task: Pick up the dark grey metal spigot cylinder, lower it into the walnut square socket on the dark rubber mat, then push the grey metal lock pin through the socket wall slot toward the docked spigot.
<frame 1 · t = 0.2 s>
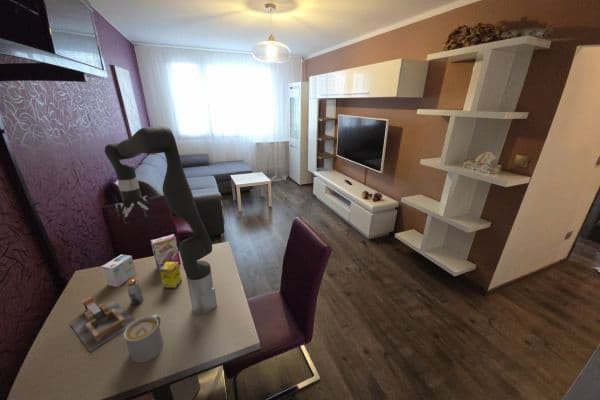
hand: (137, 220, 118), 29 cm above the table, fingers open, 8 cm apart
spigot: (137, 301, 107), on the table
coffee mug: (151, 345, 88), on the table
candy bar box: (169, 265, 132), on the table
supplement box: (173, 284, 118), on the table
dock: (107, 328, 95), on the table
pin: (92, 307, 100), point 3 cm above the table, slide at 0.0 cm
light bulb box: (122, 279, 121), on the table
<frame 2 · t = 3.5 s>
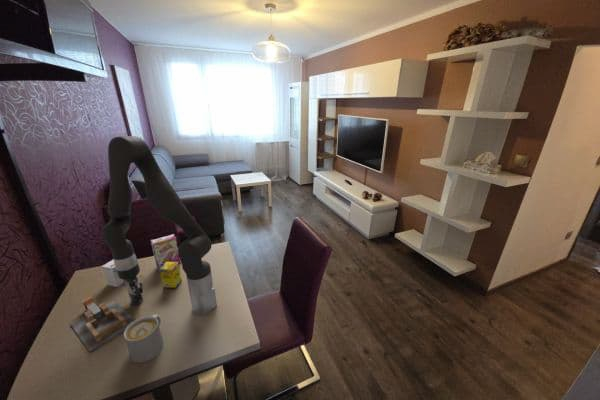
hand: (136, 297, 107), 2 cm above the table, fingers closed on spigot, 4 cm apart
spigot: (137, 301, 107), on the table, touching gripper
everything else where it was.
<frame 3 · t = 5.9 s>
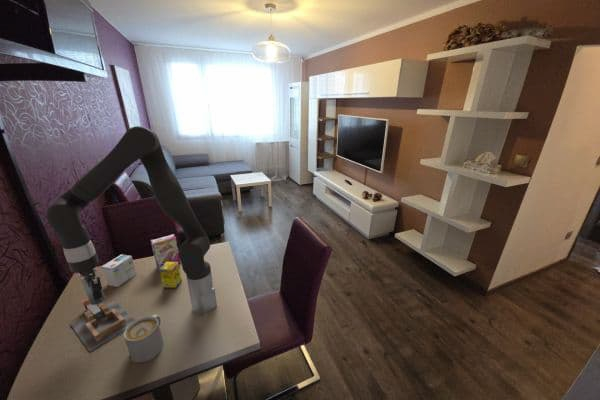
hand: (95, 295, 89), 16 cm above the table, fingers closed on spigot, 4 cm apart
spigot: (97, 300, 90), point 13 cm above the table, touching gripper
everything else where it was.
when the fingers open (4 cm above the table, at t = 8.3 s): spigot drops 1 cm, resting on dock.
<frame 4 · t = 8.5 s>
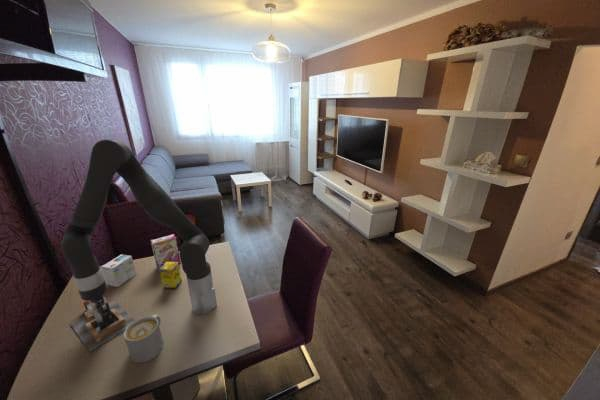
hand: (104, 318, 93), 5 cm above the table, fingers open, 6 cm apart
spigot: (107, 327, 95), resting on dock
everything else where it was.
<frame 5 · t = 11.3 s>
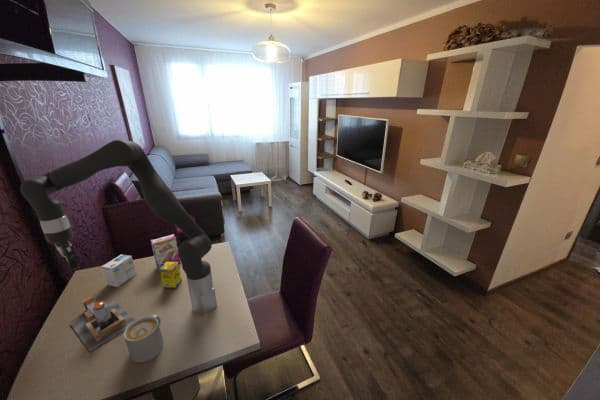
hand: (71, 264, 99), 20 cm above the table, fingers open, 7 cm apart
nothing on the table moved.
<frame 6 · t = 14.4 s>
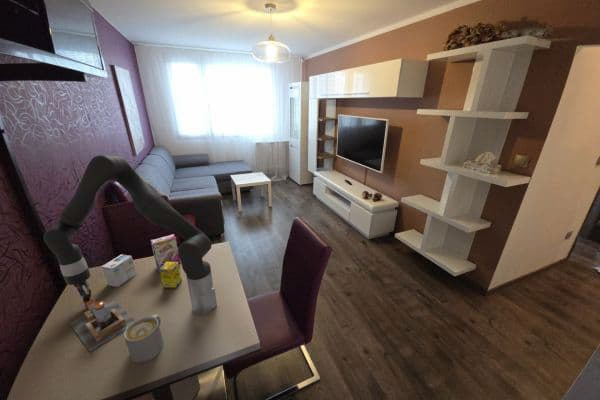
hand: (88, 303, 104), 1 cm above the table, fingers closed
pin: (94, 309, 99), point 3 cm above the table, slide at 1.2 cm, touching gripper
everything else where it was.
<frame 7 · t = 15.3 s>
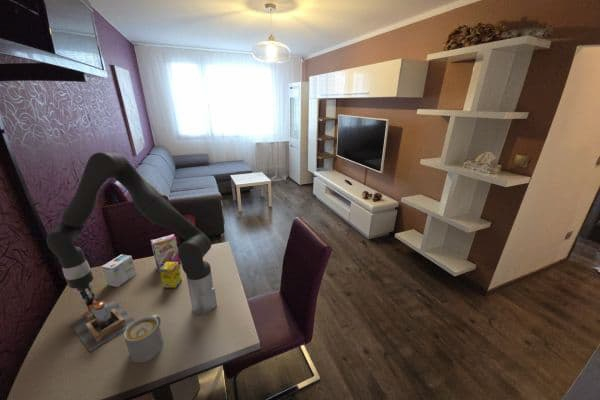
hand: (91, 307, 102), 1 cm above the table, fingers closed
pin: (97, 313, 98), point 3 cm above the table, slide at 4.7 cm, touching gripper
everything else where it was.
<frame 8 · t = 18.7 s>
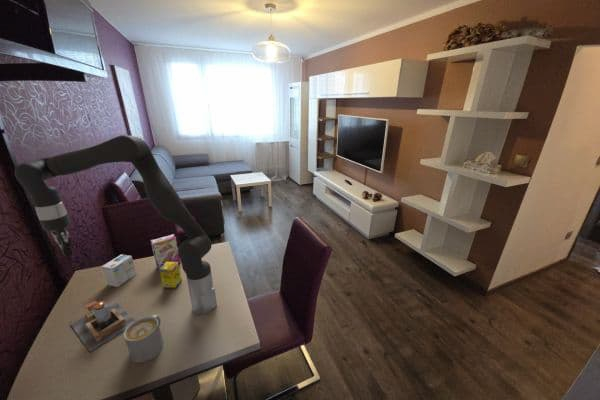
hand: (68, 255, 96), 25 cm above the table, fingers closed
pin: (97, 313, 98), point 3 cm above the table, slide at 4.7 cm
everything else where it was.
at the end: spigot 0.1 cm off-centre on the dock, point 0.4 cm above the dock's base; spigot tilted 0°; pin slide at 4.7 cm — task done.
